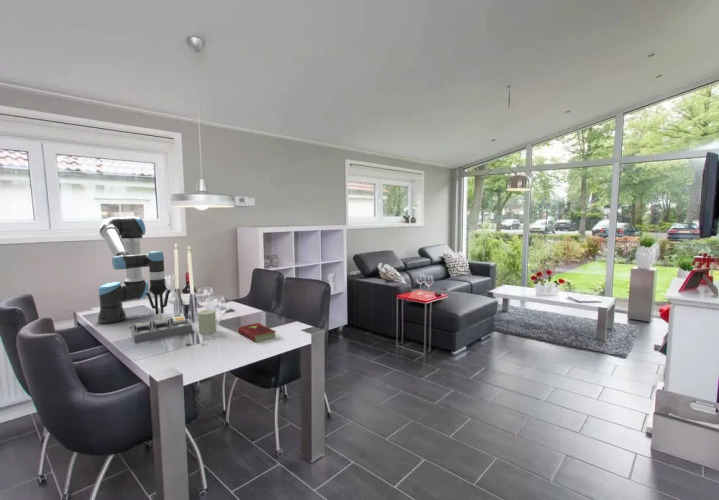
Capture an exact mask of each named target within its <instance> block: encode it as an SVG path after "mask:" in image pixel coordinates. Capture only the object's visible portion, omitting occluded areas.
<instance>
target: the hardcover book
mask: <svg viewBox="0 0 719 500" xmlns="http://www.w3.org/2000/svg"><path fill="white" fill-rule="evenodd" d="M237 331H238V334H239V335H241V336H243V337H245V338H246V339H248V340H250V341H251V342H253V343H256V344H257V343H259V342H263V341H268V340H271V339H274V338H276V332H277V331H276V330H274V329H272V328H270V327H268V326H266V325H263V324H261V323H260V322H255V323H251V324H247V325H242V326H239V327H238V330H237Z"/></svg>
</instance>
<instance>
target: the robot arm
mask: <svg viewBox="0 0 719 500" xmlns="http://www.w3.org/2000/svg"><path fill="white" fill-rule="evenodd" d="M99 234H100V237H101V238H102V239H103V240H105V242H106V244H107V246H108V248H109V250H110V252H111V254H112V258H111V264H112V268H113V270H116V271H117V270H118V271H119V270H125V273H126V274H125V276H126V278H125V279H123V283H121V281H112V282H108V283H103V284H102V285H100V286H99V288H98V297H99V300H98V301H99V308H100V310H99V313H98V315H97V323H99V324H112V323H118V322H122V321H124V320H126V319H127V313H126V311H125V310H124V306H123V303H124V302H131V301H136V300H138V301H140V300H143V299H145V298H148V301H149V304H150V307H151V308H152V309H155V310H154V311H155V314H156V315H157V320H161V319H162V314H164V308H165V307H167V305H168V301H169V296H170V293H171V291H172V290H171V289H170V288H167V285H166V279H165V275H166V274H165V255H164V252H163V251H162V250H153V251H148V252H145V253H142V252H141V240H142V238H143V236H145V234H146V225H145V223H144V220H143V219H142V218H141V217H139V216H118V217H117V216H115V217H113V216H112V217H109V218H107V219H105V220H104V221H103V222H101V225H100V227H99ZM147 267H148V271H149V272H148V274H149V283H148V281H147V280H146V278H144V277H143V273H142V269H143V268H147ZM149 286H150V287H149ZM165 292H166V293H165ZM164 293H165V296H164ZM151 294H152V295H153V296H154V301H153V300H152V296H151ZM158 296H159V297H158ZM163 296H164V297H163ZM158 298H159V301H158ZM163 298H164V299H163ZM159 305H160V306H159Z"/></svg>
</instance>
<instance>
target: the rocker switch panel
mask: <svg viewBox="0 0 719 500" xmlns="http://www.w3.org/2000/svg"><path fill="white" fill-rule="evenodd" d="M184 317H185V319H186V322H181V323H175V324H174V322H173V320H172V318H171V317H170V318H167V319H168V321H167V322H162V323H156V324H155V323H154V321H155V320H153V321H152V322H151V321H149V322H150V325H144V326H138V327H136V323H134V324H133V327H131V328H130V330H131V336H132V339H133V341H134V343H135V344H136V343H141V342H147V341H151V340H156V339H157V340H158V339H163V338H168V337H174V336H179V335H185V334H189V333H193V324H192V323H191V322H190V321H189V320H188V319H187V316H186V315H184Z"/></svg>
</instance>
